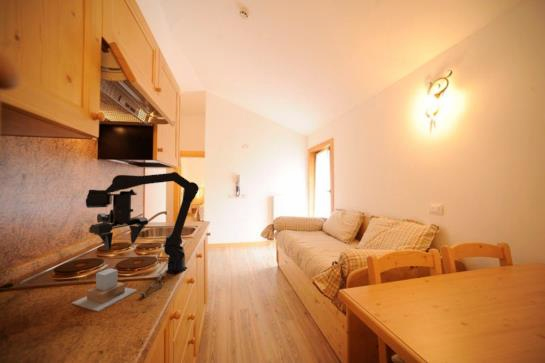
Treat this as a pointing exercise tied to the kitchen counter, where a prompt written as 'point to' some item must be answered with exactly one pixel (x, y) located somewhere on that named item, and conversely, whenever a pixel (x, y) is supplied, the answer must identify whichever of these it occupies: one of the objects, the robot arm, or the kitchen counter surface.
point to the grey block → (106, 279)
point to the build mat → (98, 307)
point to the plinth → (105, 293)
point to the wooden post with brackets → (152, 286)
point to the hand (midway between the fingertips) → (121, 246)
